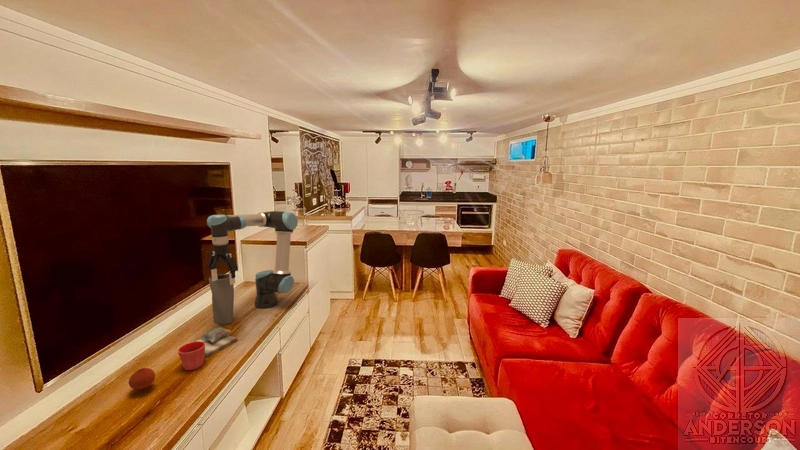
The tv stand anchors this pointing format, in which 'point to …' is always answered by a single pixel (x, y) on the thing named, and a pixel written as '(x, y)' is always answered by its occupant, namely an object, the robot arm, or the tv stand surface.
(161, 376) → the tv stand surface
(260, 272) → the robot arm
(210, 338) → the packaged food
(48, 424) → the tv stand surface
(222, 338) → the stand
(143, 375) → the fruit
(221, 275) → the vase
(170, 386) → the tv stand surface
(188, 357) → the flower pot
